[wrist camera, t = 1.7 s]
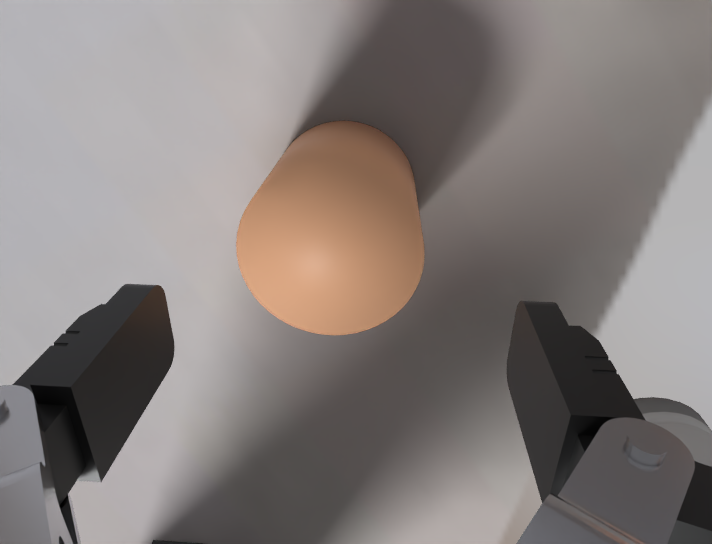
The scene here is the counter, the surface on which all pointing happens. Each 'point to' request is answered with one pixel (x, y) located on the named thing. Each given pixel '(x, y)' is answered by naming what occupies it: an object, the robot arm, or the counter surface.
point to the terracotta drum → (334, 231)
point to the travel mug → (680, 425)
